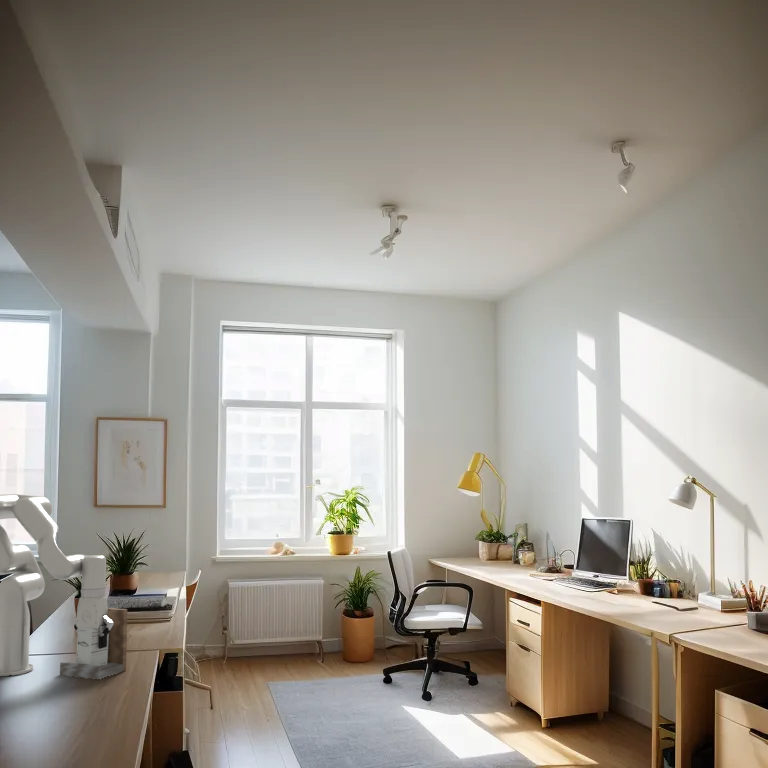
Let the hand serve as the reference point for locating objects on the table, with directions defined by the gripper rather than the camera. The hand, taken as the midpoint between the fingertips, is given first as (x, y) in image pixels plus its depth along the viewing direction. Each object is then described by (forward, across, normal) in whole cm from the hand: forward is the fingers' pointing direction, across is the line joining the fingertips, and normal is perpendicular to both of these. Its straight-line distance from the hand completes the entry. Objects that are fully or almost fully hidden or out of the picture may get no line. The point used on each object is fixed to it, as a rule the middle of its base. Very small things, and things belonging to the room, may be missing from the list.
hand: (91, 646), depth 252 cm
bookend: (+9, 0, 0) cm, 9 cm away
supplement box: (+6, 0, 0) cm, 6 cm away
